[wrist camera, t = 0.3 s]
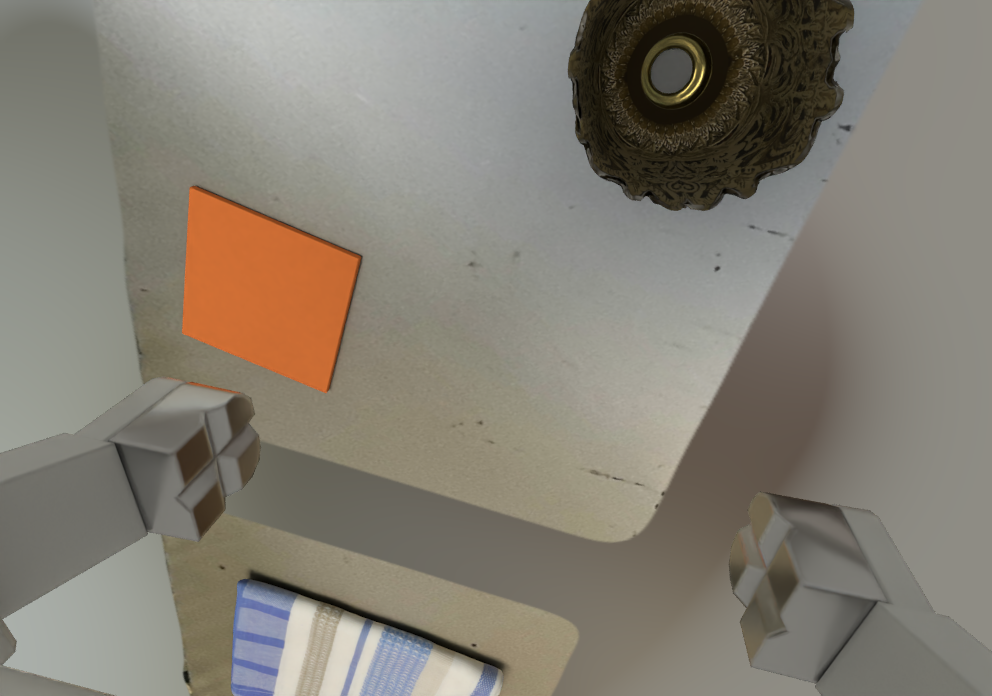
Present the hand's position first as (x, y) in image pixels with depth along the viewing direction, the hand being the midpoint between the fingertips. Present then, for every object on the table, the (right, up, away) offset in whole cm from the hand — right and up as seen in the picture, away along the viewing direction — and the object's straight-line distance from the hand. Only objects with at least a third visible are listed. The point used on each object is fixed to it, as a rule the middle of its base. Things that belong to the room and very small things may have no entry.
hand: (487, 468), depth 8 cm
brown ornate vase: (+7, +13, +13) cm, 20 cm away
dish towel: (-12, -27, +39) cm, 49 cm away
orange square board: (-13, +5, +22) cm, 26 cm away
